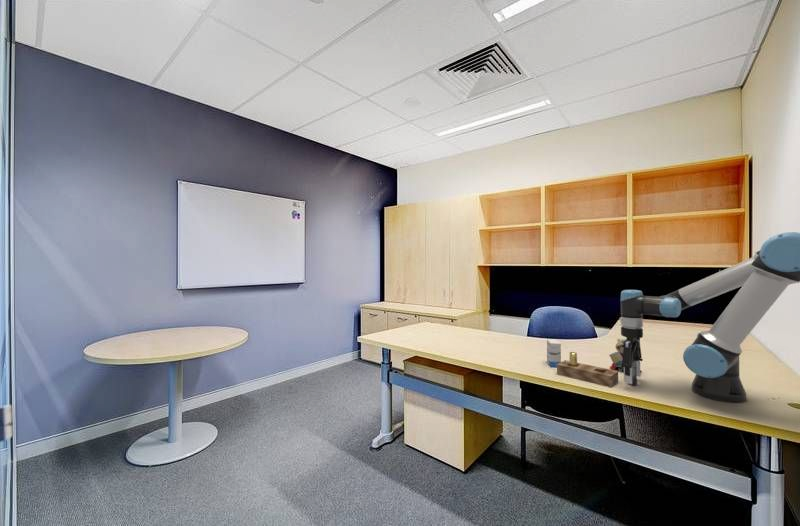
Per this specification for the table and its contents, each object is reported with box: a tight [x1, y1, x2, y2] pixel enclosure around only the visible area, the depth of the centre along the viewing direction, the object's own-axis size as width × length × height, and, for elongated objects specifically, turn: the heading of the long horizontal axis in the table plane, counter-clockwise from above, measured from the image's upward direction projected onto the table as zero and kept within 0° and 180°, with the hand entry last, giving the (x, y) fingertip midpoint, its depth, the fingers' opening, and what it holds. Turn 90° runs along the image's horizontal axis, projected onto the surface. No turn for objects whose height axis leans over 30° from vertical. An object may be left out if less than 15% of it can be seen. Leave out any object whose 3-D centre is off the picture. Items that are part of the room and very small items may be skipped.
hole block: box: [556, 360, 619, 388], centre depth 148 cm, size 22×9×4 cm, turn 41°
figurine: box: [608, 338, 642, 373], centre depth 155 cm, size 13×11×15 cm
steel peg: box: [627, 360, 638, 387], centre depth 139 cm, size 3×3×10 cm
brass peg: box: [569, 351, 578, 367], centre depth 152 cm, size 3×3×10 cm
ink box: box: [546, 339, 562, 368], centre depth 167 cm, size 8×5×12 cm, turn 168°
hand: (632, 379), depth 139 cm, fingers open, 11 cm apart
